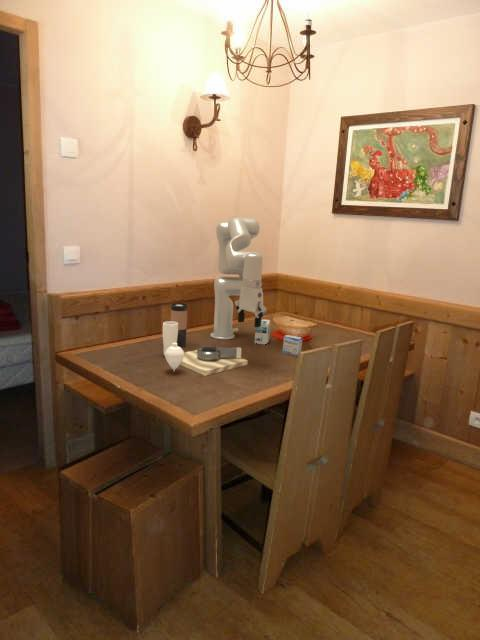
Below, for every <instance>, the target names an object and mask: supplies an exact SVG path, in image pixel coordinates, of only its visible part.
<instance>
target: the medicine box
mask: <svg viewBox="0 0 480 640" xmlns="http://www.w3.org/2000/svg"><path fill="white" fill-rule="evenodd" d="M302 345H303V337H301V336H295V335H289V334H286V335H284V336H283V345H282V354H283V353H288V354H292V355H296V356H295V357H297V355H298V354H299V352H301V353H302V347H303V346H302ZM292 355H291V356H292Z"/></svg>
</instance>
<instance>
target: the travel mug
mask: <svg viewBox="0 0 480 640" xmlns="http://www.w3.org/2000/svg"><path fill="white" fill-rule="evenodd" d="M170 321H173V322H177V323H178V337H177V346H178V347H181V348H184V347H186V343H187V328H188V325H187V323H188V304H187V303H182V302H173V303H171V306H170Z"/></svg>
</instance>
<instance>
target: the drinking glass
mask: <svg viewBox="0 0 480 640" xmlns="http://www.w3.org/2000/svg"><path fill="white" fill-rule="evenodd" d="M177 337H178V323H177V322H173V321H171V320H169V321H164V322H163V323H162V345H163V357H165V352H166V350H167V349H168V348H169V347H171V346H173V344H172V343H177Z"/></svg>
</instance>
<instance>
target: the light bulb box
mask: <svg viewBox="0 0 480 640" xmlns="http://www.w3.org/2000/svg"><path fill="white" fill-rule="evenodd" d="M254 328H255V329H254V330H255V332H254V344H256V343H257V344H258V345H265V344H267V343H269V341H270V333H271V332H270V331H271V320H270V319H264V318H263V319H262V318H261V326H260V327H254ZM267 345H268V344H267Z"/></svg>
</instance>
